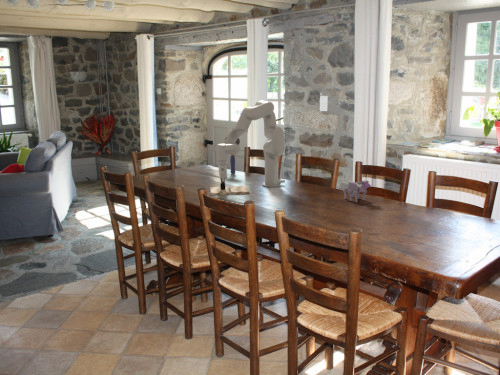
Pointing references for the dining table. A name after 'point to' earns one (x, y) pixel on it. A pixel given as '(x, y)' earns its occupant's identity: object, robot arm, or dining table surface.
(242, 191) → the laid board
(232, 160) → the rubber mallet
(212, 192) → the oak plank
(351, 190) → the toy sheep
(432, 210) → the dining table surface
